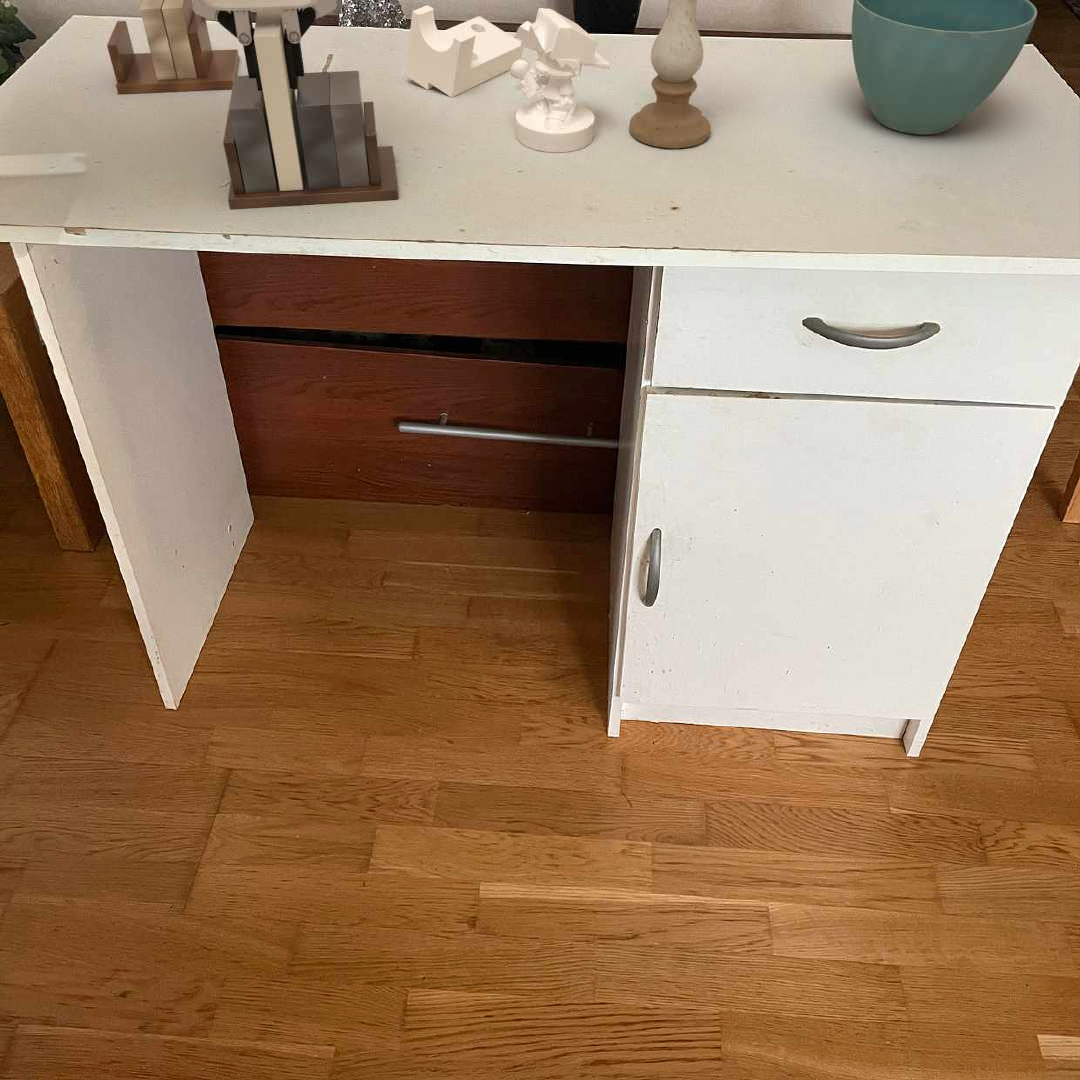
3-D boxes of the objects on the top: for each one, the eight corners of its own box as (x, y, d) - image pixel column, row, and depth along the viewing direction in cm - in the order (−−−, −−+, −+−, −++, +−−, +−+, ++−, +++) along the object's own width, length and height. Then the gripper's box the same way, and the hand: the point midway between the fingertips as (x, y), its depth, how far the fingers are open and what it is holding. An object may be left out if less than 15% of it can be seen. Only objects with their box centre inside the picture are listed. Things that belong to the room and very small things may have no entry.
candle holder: (705, 117, 113) (732, -92, 99) (713, 150, 107) (742, -67, 93) (627, 115, 113) (642, -93, 99) (630, 148, 107) (647, -69, 93)
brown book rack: (118, 94, 116) (95, 13, 110) (129, 62, 123) (109, -16, 117) (233, 89, 118) (218, 9, 111) (239, 57, 125) (224, -19, 118)
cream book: (280, 191, 97) (253, 36, 87) (282, 155, 103) (257, 6, 93) (303, 190, 97) (279, 35, 88) (304, 154, 103) (282, 5, 93)
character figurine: (504, 124, 111) (502, 6, 103) (583, 112, 114) (588, -4, 105) (532, 157, 105) (533, 35, 97) (615, 144, 108) (623, 23, 100)
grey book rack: (230, 209, 97) (209, 114, 90) (236, 163, 104) (217, 72, 97) (398, 199, 98) (389, 105, 92) (393, 155, 105) (385, 65, 99)
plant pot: (802, 125, 112) (825, 5, 103) (870, 76, 122) (896, -37, 114) (962, 170, 104) (1001, 45, 96) (1020, 114, 115) (1060, -3, 106)
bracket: (450, 105, 117) (460, 42, 111) (404, 74, 119) (412, 11, 113) (518, 71, 125) (531, 11, 119) (474, 43, 126) (485, -18, 120)
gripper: (130, -139, 78) (186, 104, 91) (341, -142, 80) (366, 97, 92) (143, -160, 83) (193, 73, 96) (341, -162, 85) (364, 66, 98)
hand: (278, 83), depth 94 cm, fingers closed on cream book, 2 cm apart
